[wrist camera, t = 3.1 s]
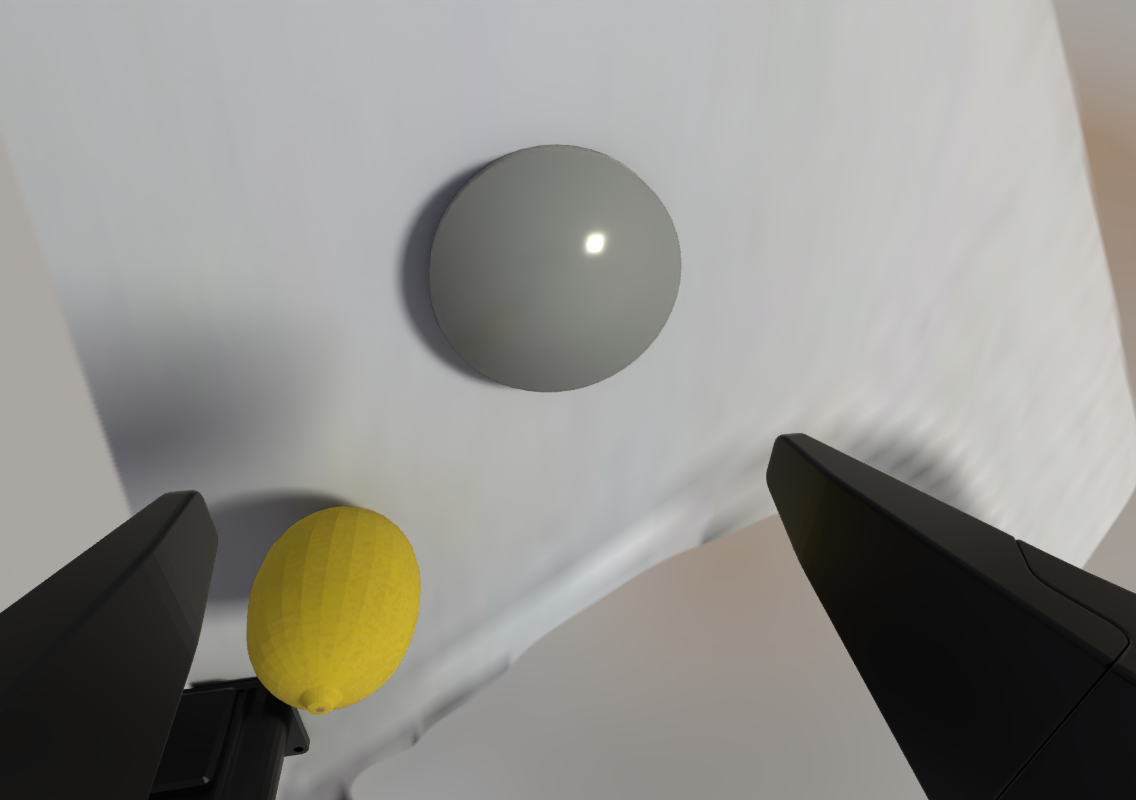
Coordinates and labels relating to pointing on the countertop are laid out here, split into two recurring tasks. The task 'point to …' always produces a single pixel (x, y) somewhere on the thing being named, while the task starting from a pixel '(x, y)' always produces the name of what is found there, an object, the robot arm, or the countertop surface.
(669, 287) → the coaster
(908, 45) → the countertop surface
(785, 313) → the countertop surface
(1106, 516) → the countertop surface
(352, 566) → the lemon
